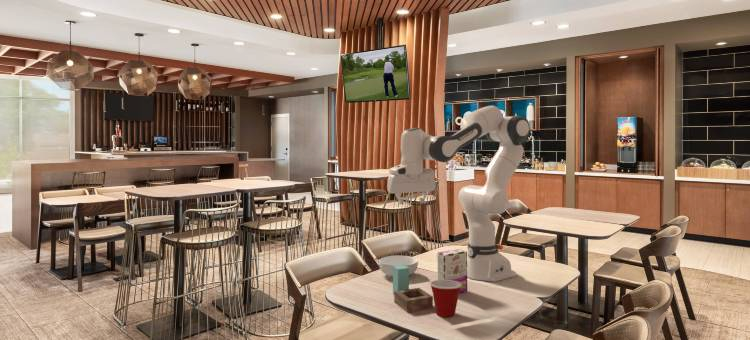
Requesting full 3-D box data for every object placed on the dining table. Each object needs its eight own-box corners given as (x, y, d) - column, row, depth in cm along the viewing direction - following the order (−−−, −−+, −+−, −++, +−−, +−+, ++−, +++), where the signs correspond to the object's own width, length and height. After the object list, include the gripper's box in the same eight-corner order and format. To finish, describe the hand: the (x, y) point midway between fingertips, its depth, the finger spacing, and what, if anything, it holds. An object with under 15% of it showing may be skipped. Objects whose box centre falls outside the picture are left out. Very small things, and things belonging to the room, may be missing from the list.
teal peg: (403, 295, 179) (403, 264, 178) (408, 299, 175) (408, 267, 174) (392, 296, 177) (392, 266, 176) (398, 300, 173) (397, 269, 172)
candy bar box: (459, 288, 186) (460, 248, 184) (467, 292, 182) (468, 251, 180) (436, 293, 181) (436, 251, 179) (444, 297, 176) (444, 254, 175)
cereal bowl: (424, 273, 205) (424, 258, 205) (406, 284, 191) (406, 267, 191) (391, 268, 214) (391, 252, 214) (371, 277, 200) (371, 261, 200)
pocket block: (419, 300, 173) (419, 287, 172) (432, 310, 163) (432, 296, 163) (394, 304, 169) (394, 291, 168) (406, 315, 160) (406, 301, 159)
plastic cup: (461, 311, 162) (461, 278, 161) (462, 324, 152) (462, 288, 151) (430, 309, 164) (430, 276, 163) (428, 322, 154) (428, 286, 153)
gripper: (430, 167, 192) (430, 200, 193) (385, 169, 184) (385, 203, 185) (438, 168, 186) (438, 202, 187) (392, 170, 178) (392, 206, 179)
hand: (411, 203), depth 186 cm, fingers open, 8 cm apart
